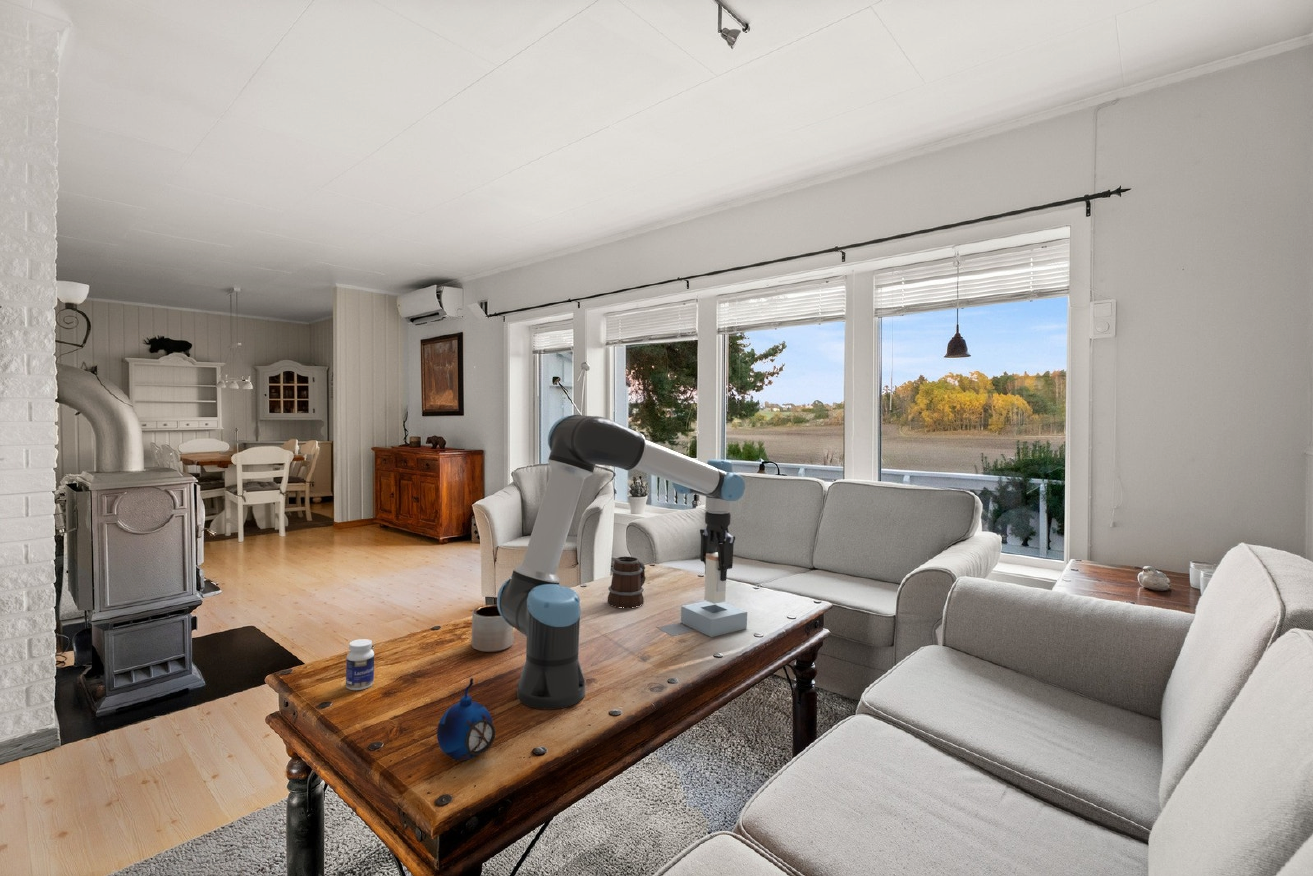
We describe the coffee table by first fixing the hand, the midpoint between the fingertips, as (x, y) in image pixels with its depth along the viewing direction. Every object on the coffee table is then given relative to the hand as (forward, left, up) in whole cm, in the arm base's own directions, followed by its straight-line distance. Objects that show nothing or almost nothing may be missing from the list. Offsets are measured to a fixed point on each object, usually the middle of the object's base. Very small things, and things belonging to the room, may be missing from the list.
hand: (715, 588), depth 185 cm
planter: (-61, +20, -12) cm, 65 cm away
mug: (-8, +34, -12) cm, 37 cm away
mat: (-12, +3, -12) cm, 17 cm away
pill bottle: (-95, +12, -12) cm, 97 cm away
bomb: (-84, -29, -12) cm, 90 cm away
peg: (0, 0, -4) cm, 4 cm away
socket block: (0, 0, -12) cm, 12 cm away
